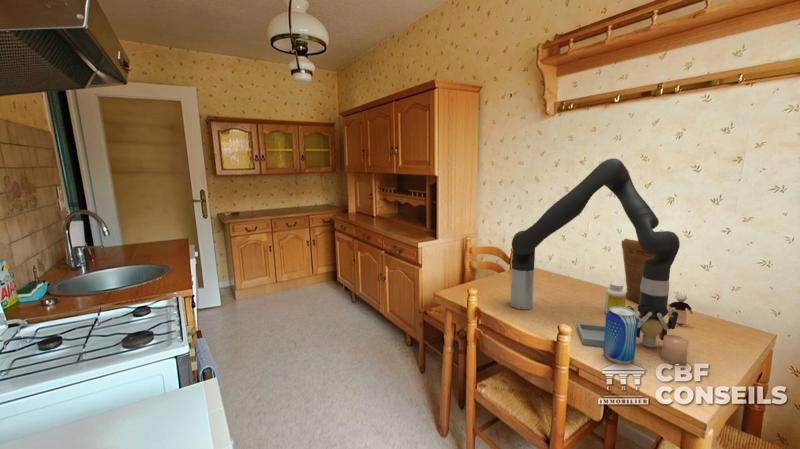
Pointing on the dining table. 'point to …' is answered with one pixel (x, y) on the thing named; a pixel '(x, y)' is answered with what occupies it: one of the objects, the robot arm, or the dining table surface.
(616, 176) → the robot arm
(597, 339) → the tray
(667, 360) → the beige rounded block
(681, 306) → the grandmother figurine
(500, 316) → the dining table surface
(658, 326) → the light bulb
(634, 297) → the pancake mix bag
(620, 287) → the supplement bottle
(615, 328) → the beer can
